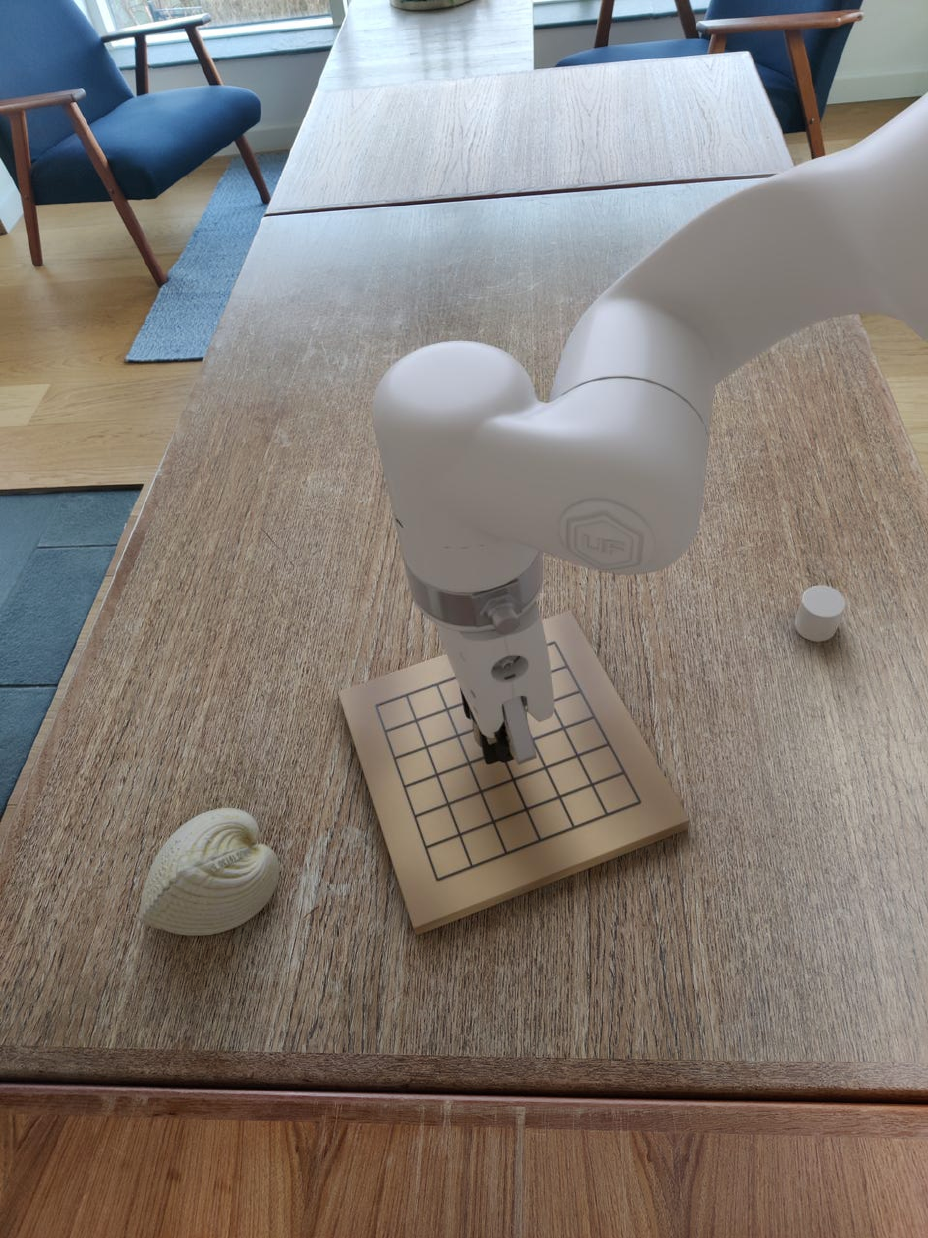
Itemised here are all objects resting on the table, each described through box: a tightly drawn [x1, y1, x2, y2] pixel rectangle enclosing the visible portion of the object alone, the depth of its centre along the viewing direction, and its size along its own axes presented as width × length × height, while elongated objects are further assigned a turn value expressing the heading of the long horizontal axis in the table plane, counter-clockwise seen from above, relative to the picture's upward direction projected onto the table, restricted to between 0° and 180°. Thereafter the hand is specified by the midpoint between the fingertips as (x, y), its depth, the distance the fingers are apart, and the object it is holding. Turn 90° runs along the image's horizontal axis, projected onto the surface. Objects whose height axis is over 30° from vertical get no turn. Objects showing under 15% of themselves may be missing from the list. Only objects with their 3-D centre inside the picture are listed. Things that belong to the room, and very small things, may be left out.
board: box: [337, 609, 690, 936], centre depth 66 cm, size 20×20×2 cm
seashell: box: [138, 807, 280, 937], centre depth 60 cm, size 8×8×8 cm
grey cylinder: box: [793, 585, 847, 643], centre depth 69 cm, size 3×3×3 cm
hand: (496, 730), depth 63 cm, fingers closed on black stone, 3 cm apart
